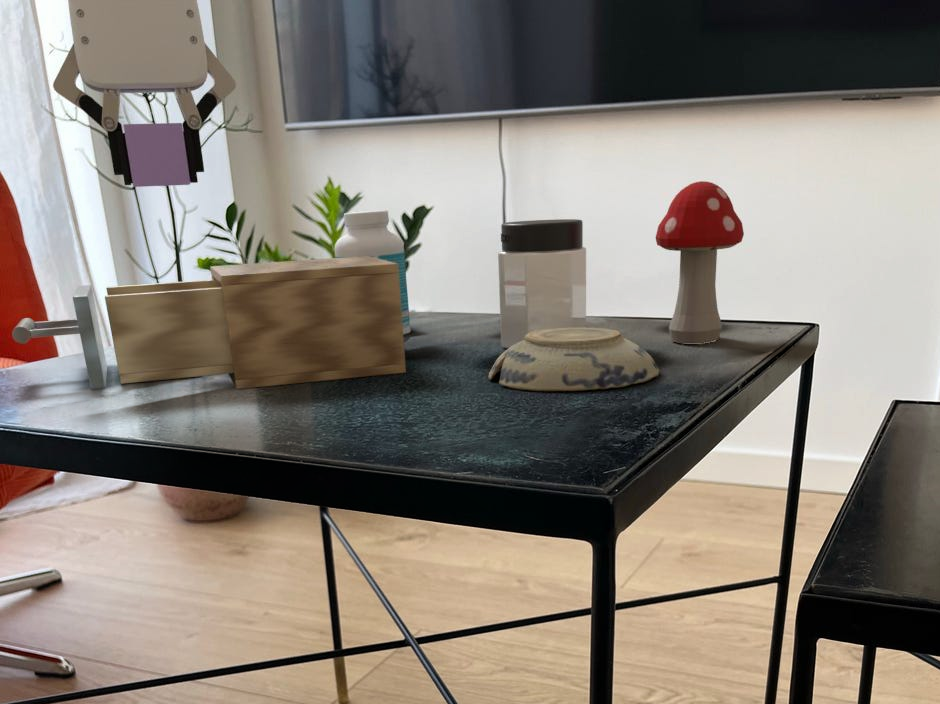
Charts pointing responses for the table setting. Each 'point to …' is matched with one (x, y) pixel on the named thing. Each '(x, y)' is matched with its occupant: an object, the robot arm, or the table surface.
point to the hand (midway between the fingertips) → (160, 181)
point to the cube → (157, 154)
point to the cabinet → (312, 320)
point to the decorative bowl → (573, 361)
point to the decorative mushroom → (698, 256)
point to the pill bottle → (375, 248)
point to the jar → (541, 277)
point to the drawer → (148, 331)
